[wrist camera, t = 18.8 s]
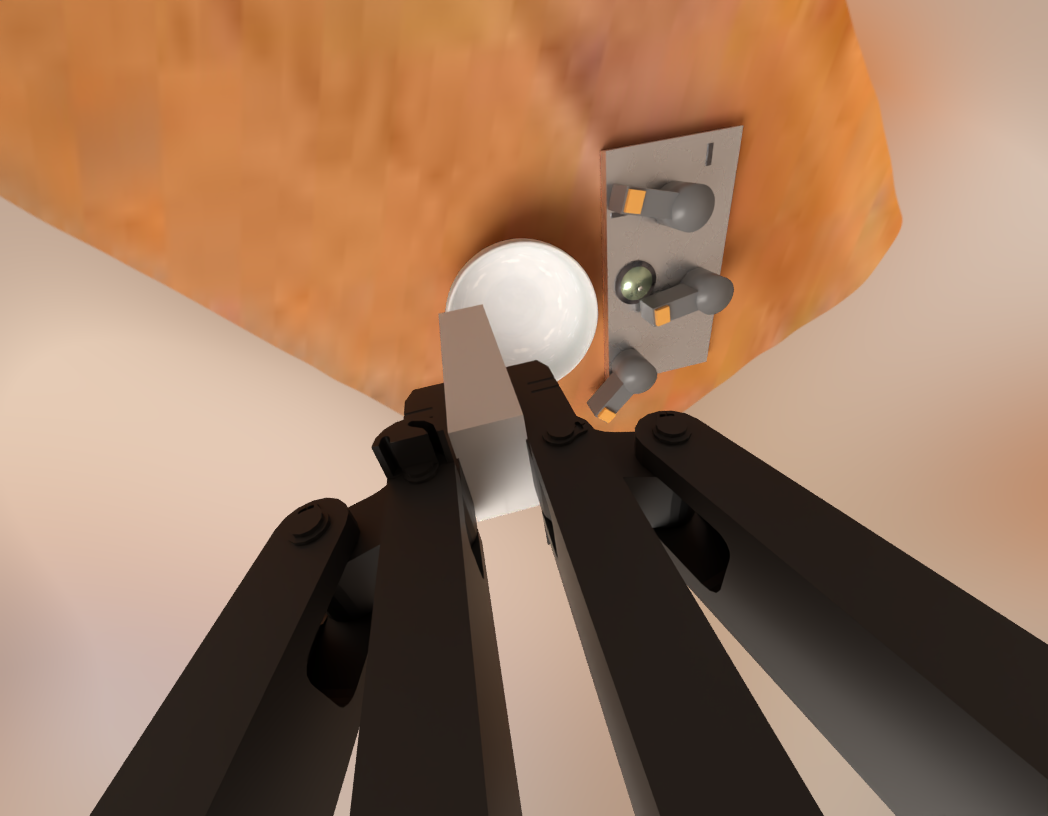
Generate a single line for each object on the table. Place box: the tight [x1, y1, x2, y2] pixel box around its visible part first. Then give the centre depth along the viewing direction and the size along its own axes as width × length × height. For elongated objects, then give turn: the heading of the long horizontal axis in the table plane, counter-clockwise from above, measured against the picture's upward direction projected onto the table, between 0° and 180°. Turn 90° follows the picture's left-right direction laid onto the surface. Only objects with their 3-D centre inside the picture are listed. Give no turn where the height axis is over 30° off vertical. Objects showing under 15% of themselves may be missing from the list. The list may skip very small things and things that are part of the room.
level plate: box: [600, 125, 743, 380], centre depth 47 cm, size 28×15×2 cm, turn 8°
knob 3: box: [639, 268, 734, 327], centre depth 46 cm, size 10×4×4 cm, turn 107°
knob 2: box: [608, 181, 715, 233], centre depth 40 cm, size 10×4×4 cm, turn 83°
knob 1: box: [587, 349, 657, 423], centre depth 52 cm, size 10×4×4 cm, turn 143°
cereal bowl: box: [445, 238, 598, 381], centre depth 44 cm, size 17×17×7 cm
